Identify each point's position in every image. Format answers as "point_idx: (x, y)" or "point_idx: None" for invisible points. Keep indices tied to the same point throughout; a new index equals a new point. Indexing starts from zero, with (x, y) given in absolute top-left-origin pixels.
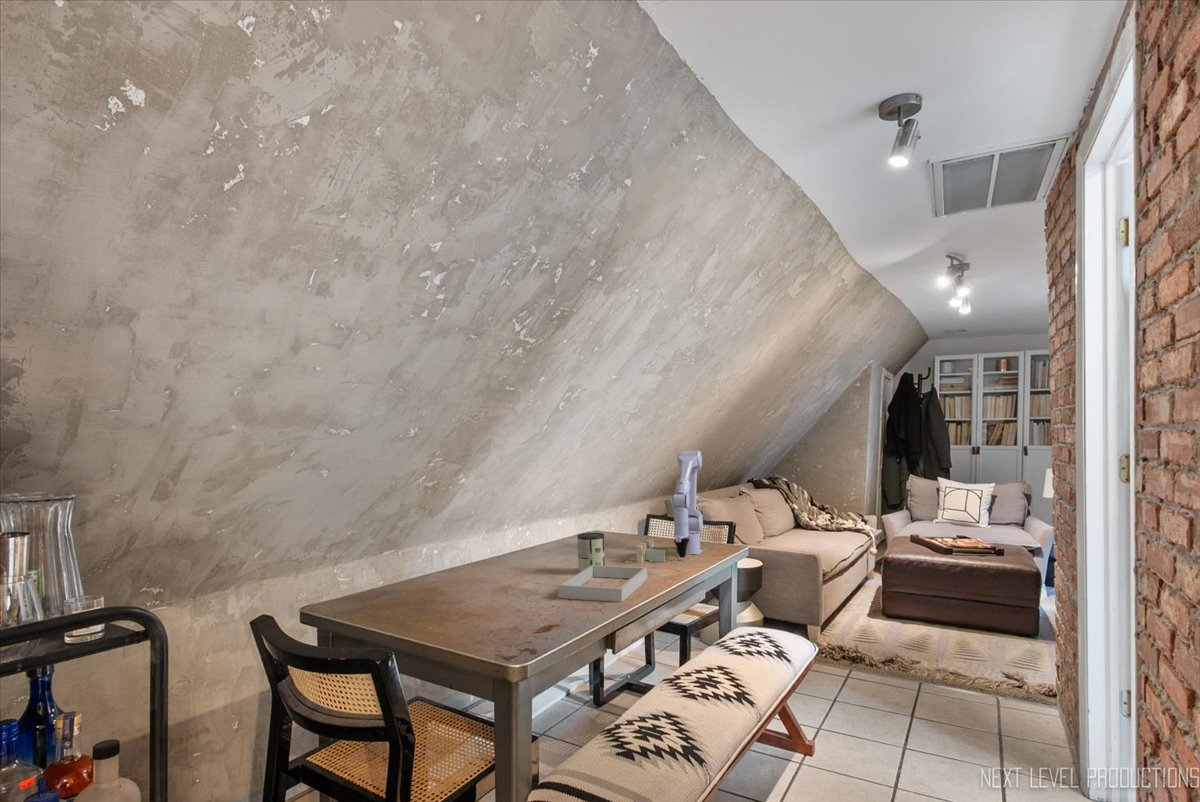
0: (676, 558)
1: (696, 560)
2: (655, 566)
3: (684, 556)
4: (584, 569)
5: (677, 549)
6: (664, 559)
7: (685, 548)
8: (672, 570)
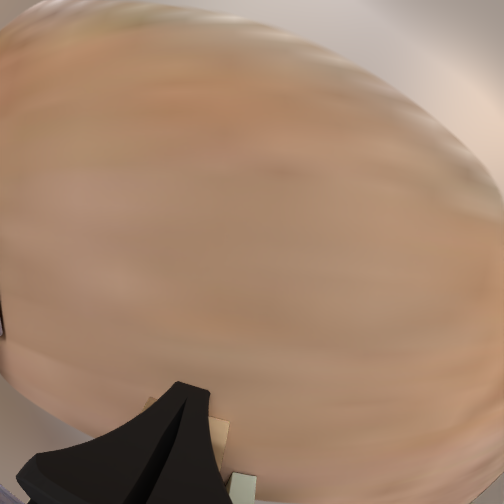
0: (225, 439)
1: (176, 252)
2: (370, 491)
3: (207, 396)
4: None
5: None
6: (249, 487)
7: (214, 462)
8: (490, 412)
